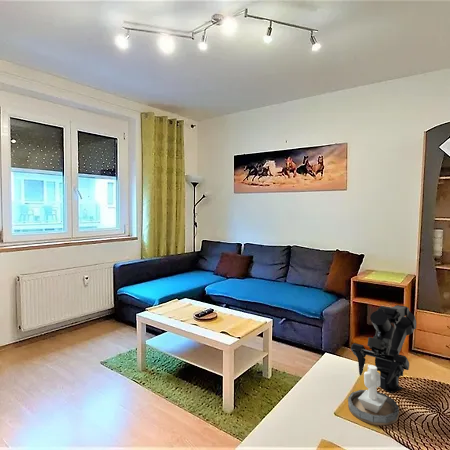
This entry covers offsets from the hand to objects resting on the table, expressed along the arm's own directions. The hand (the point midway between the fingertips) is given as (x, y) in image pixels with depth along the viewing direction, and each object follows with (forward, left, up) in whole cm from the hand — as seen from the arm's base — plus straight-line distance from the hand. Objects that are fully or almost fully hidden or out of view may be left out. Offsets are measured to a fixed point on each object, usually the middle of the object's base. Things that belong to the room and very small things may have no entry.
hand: (373, 379), depth 115 cm
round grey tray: (+1, 0, -11) cm, 11 cm away
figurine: (+1, 0, -10) cm, 10 cm away
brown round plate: (+1, 0, -11) cm, 11 cm away
